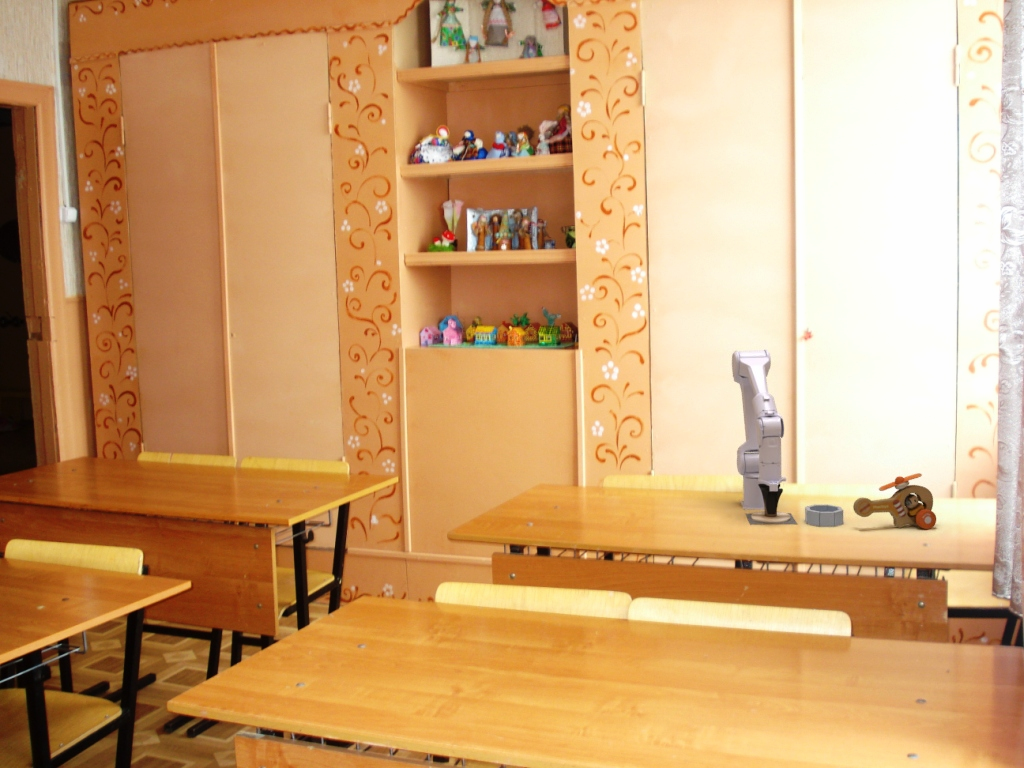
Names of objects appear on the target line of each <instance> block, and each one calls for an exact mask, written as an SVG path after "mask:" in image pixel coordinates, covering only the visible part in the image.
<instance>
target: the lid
mask: <svg viewBox="0 0 1024 768" xmlns="http://www.w3.org/2000/svg"><path fill="white" fill-rule="evenodd" d="M752 513H753V512H752ZM786 513H787V512H782V511H778V510H777V511H776V514H767V510H766V504H765V499H764V509H763V511H757V512H754V513H753V514H752V515H751V519H752V520H754V521H757V522H762V523H783V522H787V521H789V520H790V515H789V514H786Z"/></svg>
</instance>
